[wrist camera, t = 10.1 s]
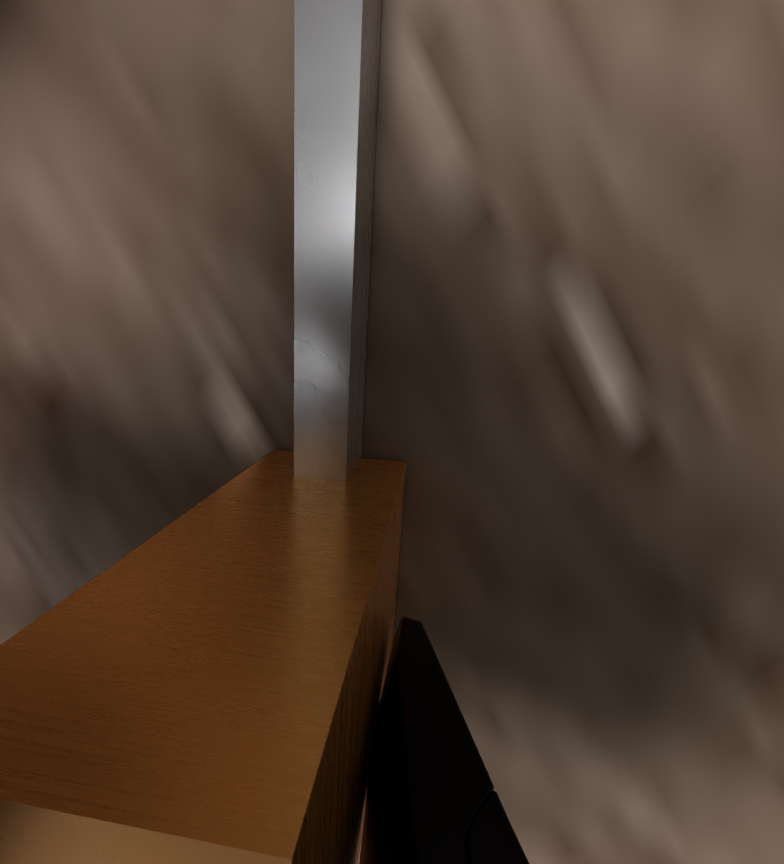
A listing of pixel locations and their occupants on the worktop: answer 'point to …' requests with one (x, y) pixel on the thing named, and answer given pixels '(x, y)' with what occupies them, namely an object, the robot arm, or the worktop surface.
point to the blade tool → (238, 583)
